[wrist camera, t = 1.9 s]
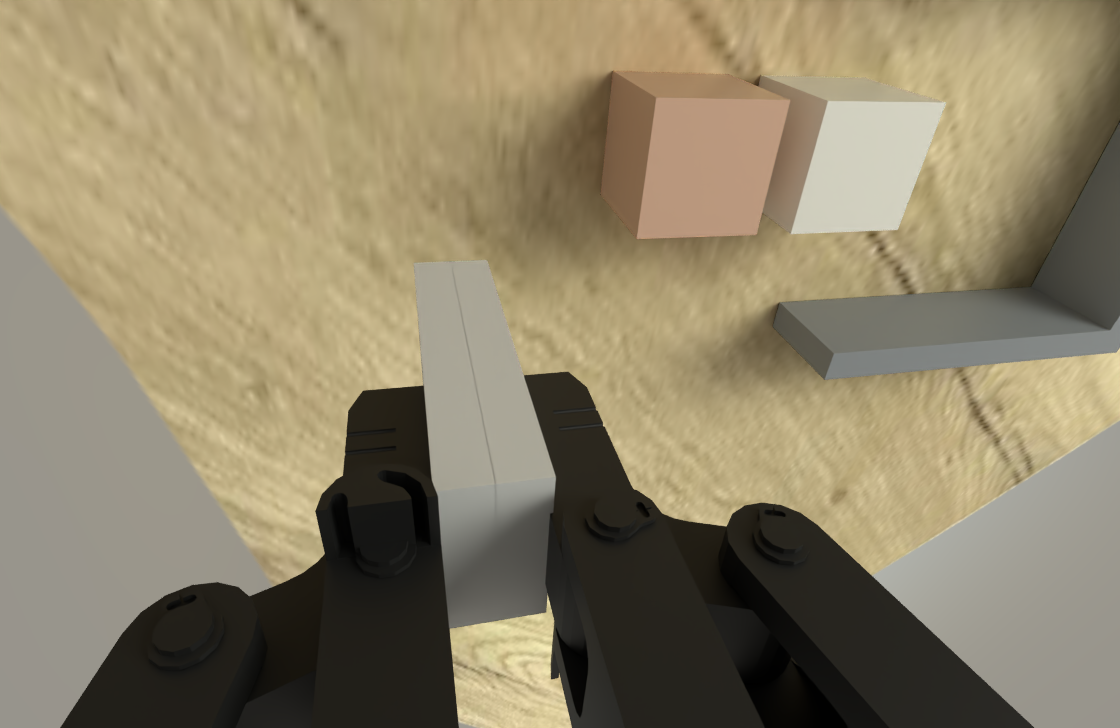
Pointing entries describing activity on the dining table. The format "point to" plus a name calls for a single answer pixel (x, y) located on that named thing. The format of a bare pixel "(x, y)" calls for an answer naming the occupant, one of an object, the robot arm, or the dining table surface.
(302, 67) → the dining table surface
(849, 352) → the box
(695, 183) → the tile
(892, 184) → the tile
